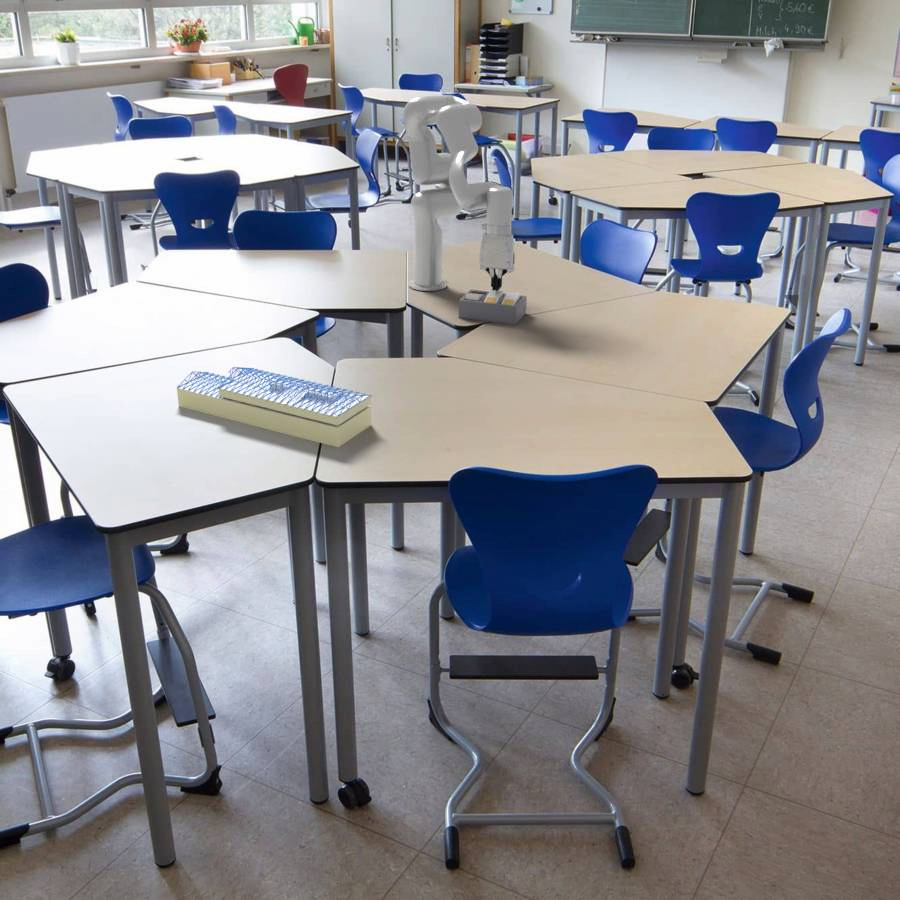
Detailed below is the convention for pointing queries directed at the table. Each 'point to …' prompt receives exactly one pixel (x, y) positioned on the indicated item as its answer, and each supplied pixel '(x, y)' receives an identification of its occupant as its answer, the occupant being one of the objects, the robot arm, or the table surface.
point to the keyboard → (279, 404)
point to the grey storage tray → (492, 309)
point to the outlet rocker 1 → (474, 296)
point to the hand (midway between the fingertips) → (496, 289)
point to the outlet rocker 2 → (493, 296)
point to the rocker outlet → (511, 298)
